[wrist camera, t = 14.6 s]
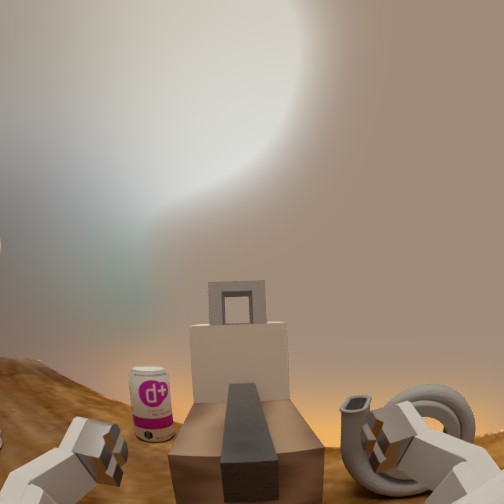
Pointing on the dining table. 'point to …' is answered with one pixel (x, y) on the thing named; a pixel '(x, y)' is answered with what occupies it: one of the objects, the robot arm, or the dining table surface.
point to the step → (210, 446)
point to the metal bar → (247, 449)
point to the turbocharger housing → (427, 405)
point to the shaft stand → (239, 348)
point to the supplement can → (151, 403)
